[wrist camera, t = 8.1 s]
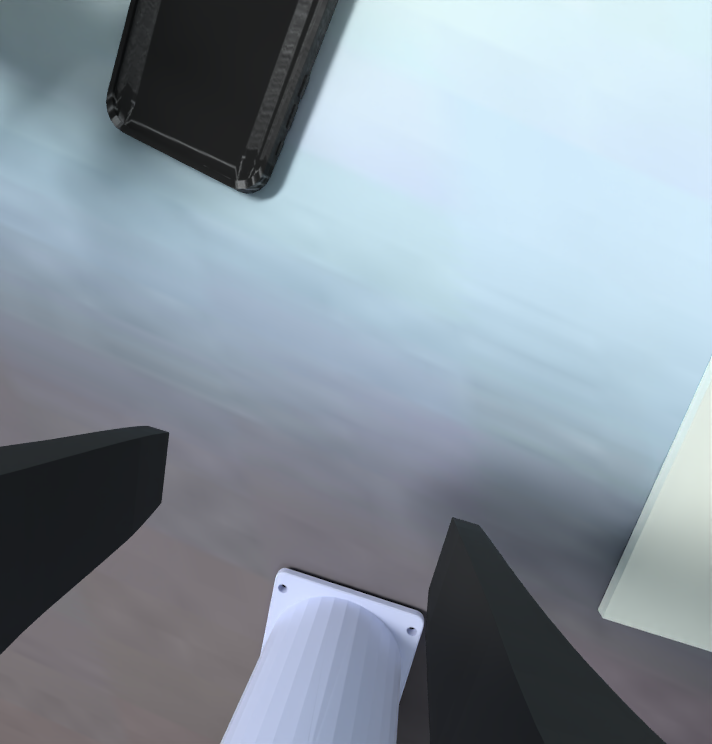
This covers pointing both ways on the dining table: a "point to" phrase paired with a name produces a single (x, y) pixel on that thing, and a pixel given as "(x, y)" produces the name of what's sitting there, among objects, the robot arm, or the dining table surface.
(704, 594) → the mat
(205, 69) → the phone
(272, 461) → the dining table surface
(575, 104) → the dining table surface
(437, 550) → the dining table surface
